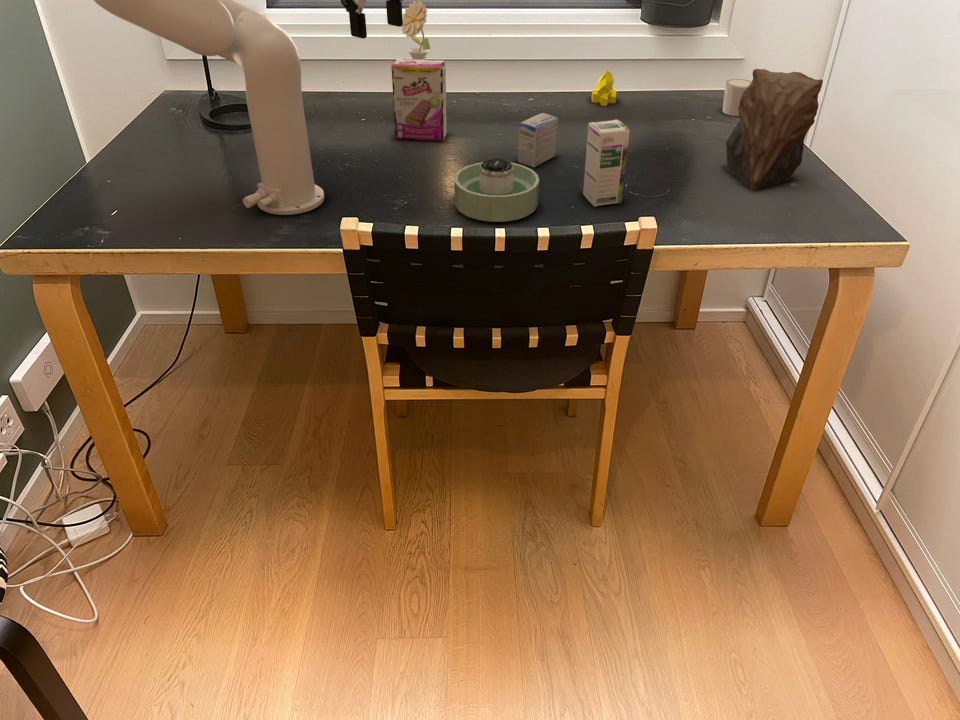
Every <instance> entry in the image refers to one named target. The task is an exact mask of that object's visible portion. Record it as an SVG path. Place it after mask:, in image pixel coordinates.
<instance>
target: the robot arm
mask: <svg viewBox="0 0 960 720" xmlns="http://www.w3.org/2000/svg"><path fill="white" fill-rule="evenodd" d="M404 1H405V0H385V6H386V7H385V8H386V22H387V25H389V26H394V27H398V28H400V27H401V28H402V26H403V2H404ZM93 2H94V3H96V5H98V6H99V7H101V8H102V9H103V10H105V11H107V12H108V13H110V14H112V15H114V16H115V17H117V18H119V19H121V20H123V21H126V22H128V23H129V24H132V25H135V26H136V27H139V28H141V29H143V30H145V31H147V32H149V33H151V34H153V35H156V36H158V37H160V38H162V39H165V40H166V41H169V42H171V43H174V44H176V45H177V46H180V47H183V48H184V49H186V50H188V51H190V52H192V53H194V54H196V55H199V56H203V57H216V56H218V57H221V58H223V59H225V60H227V61H230V62H233V63H234V64H236V65H238V66H239V67H240V69H241V70H242V73H243V79H244V86H245V98H246V105H247V112H248V117H249V123H250V127H251V132H252V137H253V143H254V148H255V154H256V160H257V164H258V171H259V175H260V179H261V180H260V181H261V182H258V183H257V184H256V186H257V190H255V192H254V193H253V194H249V195H247V196H245V197H244V198H243V199H242V204H243V205H244V206H245V208H247V209H250V208H252V207H255V206H256V205H257V207H258V208H259V209H260V210H261V211H263V212H265V213H268V214H272V215H279V216H292V215H293V216H294V215H298V214H304V213H307V212H310V211H313V210H315V209H316V208H318V207H319V206H321V205H322V204H323V203H324V201H325V192H324V189H323V188H322V187H320V186H319V185H317V184H316V183H315V179H314V178H315V177H314V172H313V165H312V164H313V163H312V157H311V150H310V142H309V136H308V128H307V121H306V116H305V115H306V114H305V107H304V102H303V101H304V99H303V91H302V88H303V87H302V62H301V57H300V53H299V50H298V47H297V45H296V44H295V42H294V40H293V39H292V38H291V36H290V35H289V34H288V32H286V31H285V30H284V29H283V28H281V27H280V26H279V25H277V24H276V23H275V22H273V21H272V20H271V19H270V18H268V17H266V16H265V15H264V14H261V13H259V12H257V11H255V10H253V9H251V8H249V7H247V6H245V5H243V4H241V3H239V2H237V1H235V0H93ZM356 2H357V3H356ZM366 2H367V0H340V3H341V5H342V6H343V8H345V12H347V13H348V18H349V29H350V35H351V37H354V38H359V39H363V40H364V39H366V38H367V36H368V33H367V32H368V31H367V21H366V20H367V19H366V13H365V12H363V10H364V8H365V5H366Z"/></svg>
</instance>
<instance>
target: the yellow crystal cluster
mask: <svg viewBox="0 0 960 720" xmlns="http://www.w3.org/2000/svg"><path fill="white" fill-rule="evenodd" d="M614 83H615V80H614V77H613V73H611V72H610V71H609V70H607V69H606V70H605V72H604V73H603V75H601V76H600V77H599V79H598V81H597V82H596V84H595V86H594V89H593V90H592V91H591V103H595V104H597V103H598V104H600V106H601V107H607V106H608V104H616V102H617V88H613V85H614Z"/></svg>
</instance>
